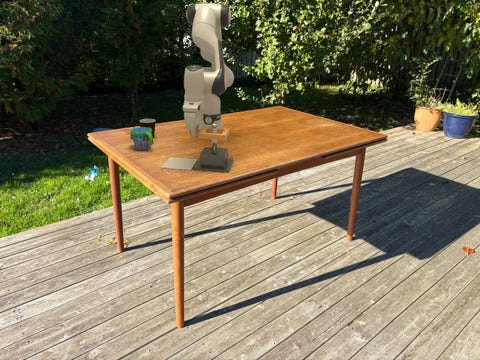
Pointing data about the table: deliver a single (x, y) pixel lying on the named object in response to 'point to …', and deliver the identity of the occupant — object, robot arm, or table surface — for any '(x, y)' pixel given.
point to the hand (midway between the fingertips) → (195, 134)
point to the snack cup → (142, 138)
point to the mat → (179, 164)
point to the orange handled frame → (208, 135)
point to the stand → (214, 157)
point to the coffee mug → (148, 125)
